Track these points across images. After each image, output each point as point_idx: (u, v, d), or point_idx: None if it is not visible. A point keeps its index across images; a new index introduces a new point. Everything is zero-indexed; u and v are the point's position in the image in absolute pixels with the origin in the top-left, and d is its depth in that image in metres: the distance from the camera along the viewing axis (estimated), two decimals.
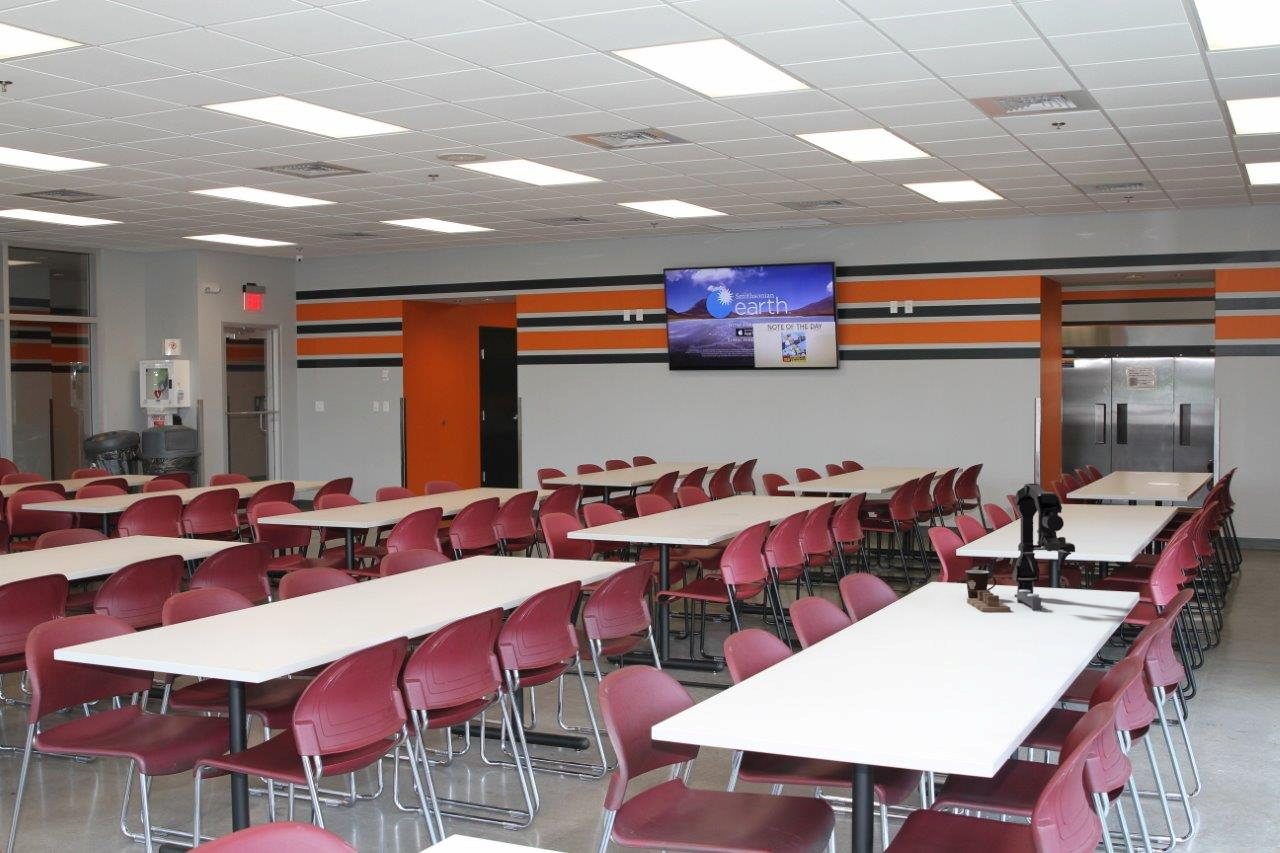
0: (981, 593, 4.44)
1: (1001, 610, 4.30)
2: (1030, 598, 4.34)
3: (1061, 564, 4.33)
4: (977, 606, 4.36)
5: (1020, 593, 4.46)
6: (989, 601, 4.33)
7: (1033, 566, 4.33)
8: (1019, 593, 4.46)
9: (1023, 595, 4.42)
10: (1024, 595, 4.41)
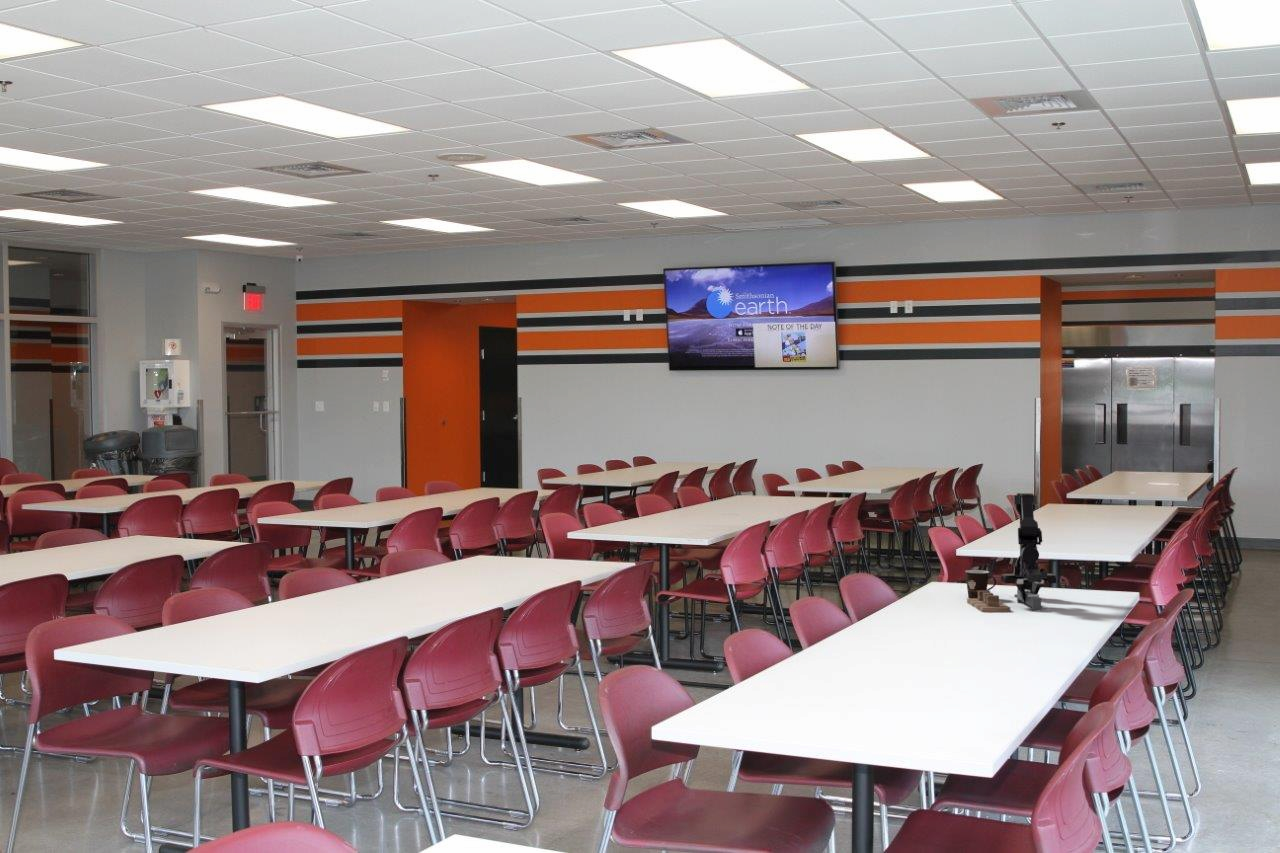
0: (981, 593, 4.44)
1: (1001, 610, 4.30)
2: (1030, 598, 4.34)
3: None
4: (977, 606, 4.36)
5: None
6: (989, 601, 4.33)
7: (1024, 597, 4.40)
8: (1019, 593, 4.46)
9: None
10: None
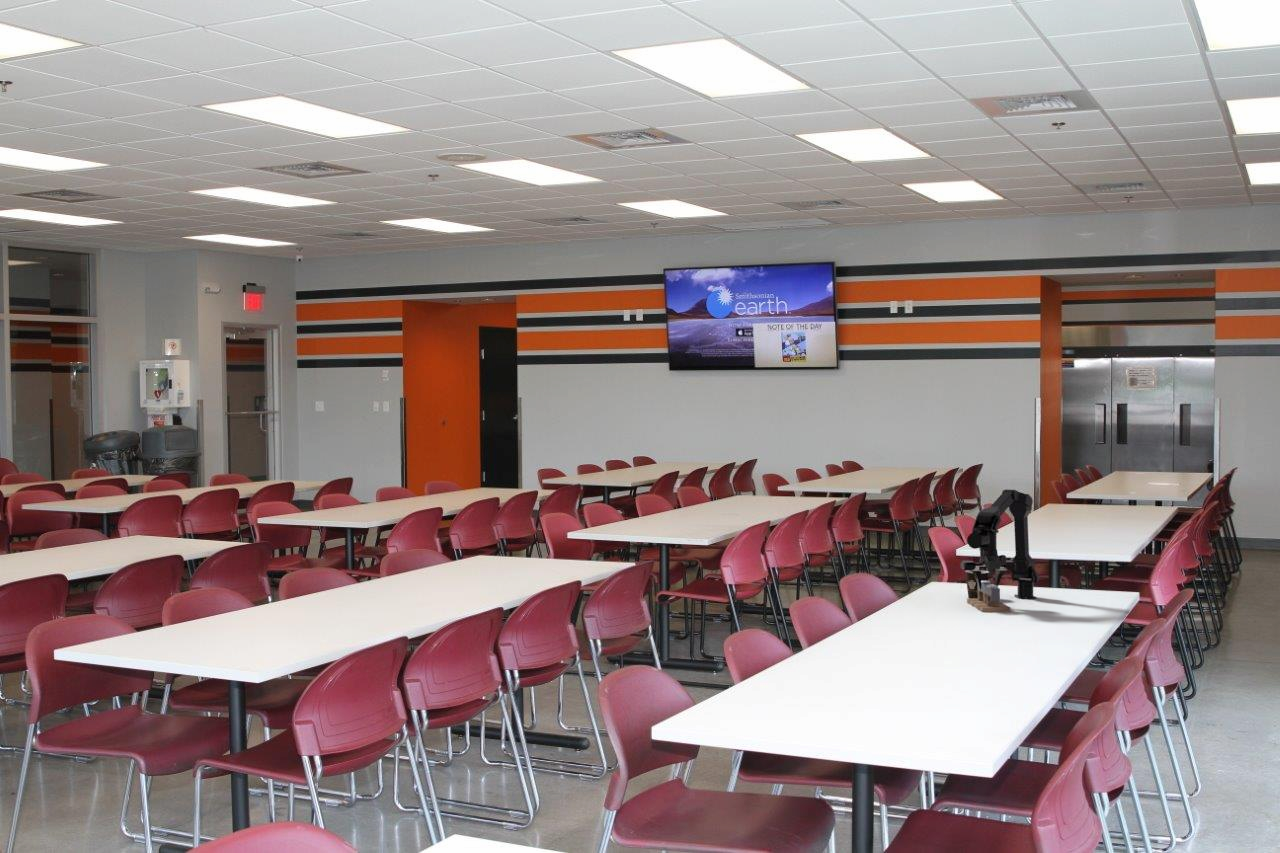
0: (981, 593, 4.44)
1: (1001, 610, 4.30)
2: (989, 589, 4.33)
3: (998, 582, 4.39)
4: (977, 606, 4.36)
5: None
6: (989, 601, 4.33)
7: (980, 584, 4.39)
8: None
9: (983, 586, 4.41)
10: (984, 586, 4.40)
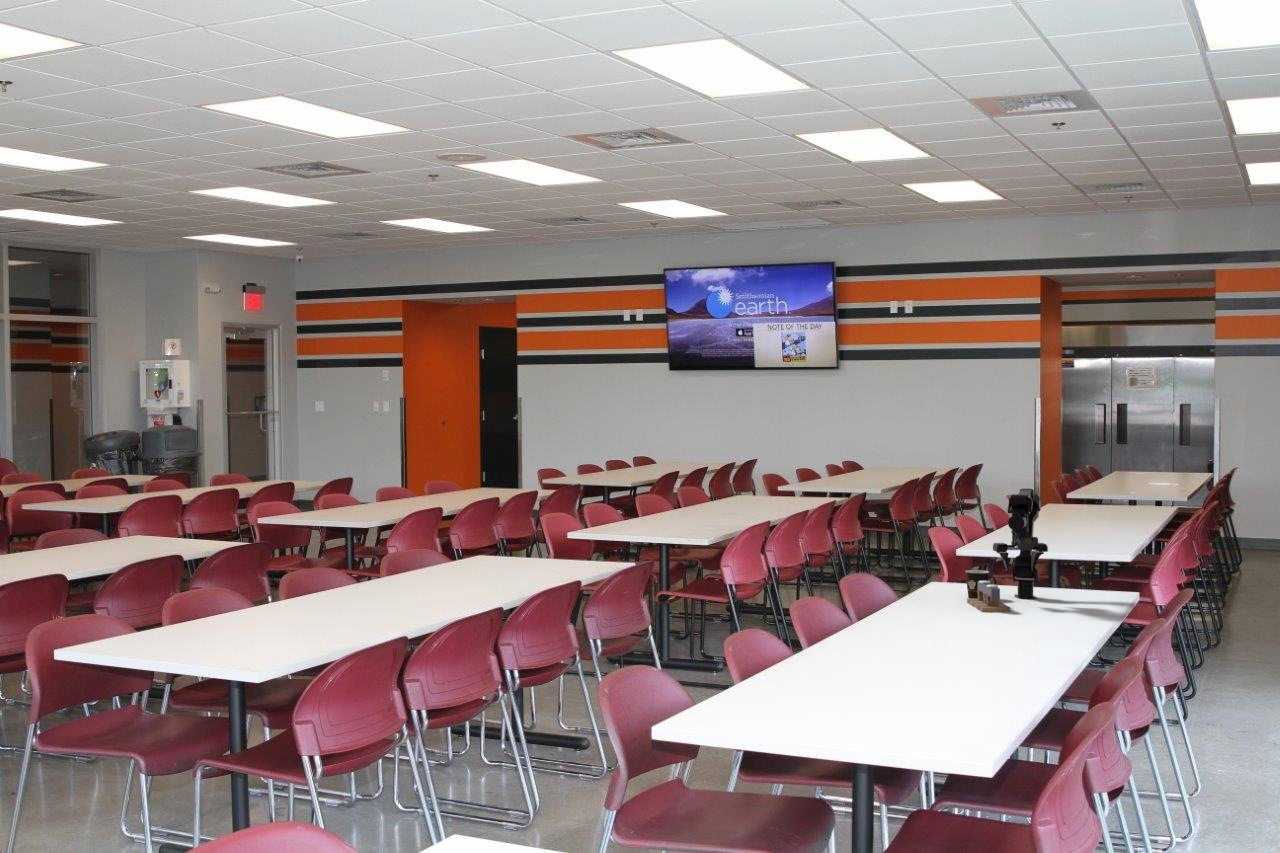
0: (981, 593, 4.44)
1: (1001, 610, 4.30)
2: (989, 589, 4.33)
3: (1034, 563, 4.46)
4: (977, 606, 4.36)
5: (980, 584, 4.45)
6: (989, 601, 4.33)
7: (1007, 565, 4.47)
8: (979, 585, 4.45)
9: (983, 586, 4.41)
10: (984, 586, 4.40)
